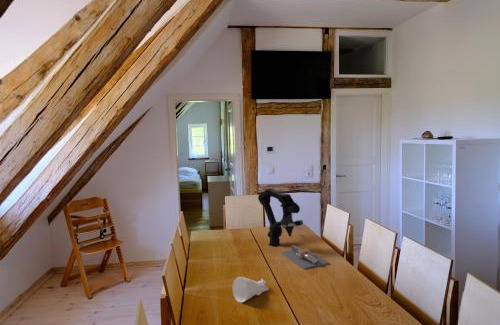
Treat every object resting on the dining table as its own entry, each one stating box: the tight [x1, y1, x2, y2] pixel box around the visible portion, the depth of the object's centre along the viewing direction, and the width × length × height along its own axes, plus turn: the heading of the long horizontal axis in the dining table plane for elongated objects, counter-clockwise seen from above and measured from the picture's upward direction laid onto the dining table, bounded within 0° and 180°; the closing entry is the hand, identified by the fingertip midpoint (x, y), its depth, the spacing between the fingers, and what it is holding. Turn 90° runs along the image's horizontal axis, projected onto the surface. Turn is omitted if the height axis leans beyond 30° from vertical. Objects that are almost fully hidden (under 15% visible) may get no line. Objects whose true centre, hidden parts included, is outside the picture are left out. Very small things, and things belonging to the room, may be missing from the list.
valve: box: [291, 244, 319, 265], centre depth 205 cm, size 26×6×5 cm, turn 23°
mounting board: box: [280, 247, 330, 270], centre depth 205 cm, size 28×18×1 cm, turn 23°
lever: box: [296, 251, 308, 257], centre depth 199 cm, size 2×3×12 cm
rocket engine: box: [232, 276, 269, 303], centre depth 161 cm, size 12×12×18 cm
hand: (290, 236), depth 216 cm, fingers closed
